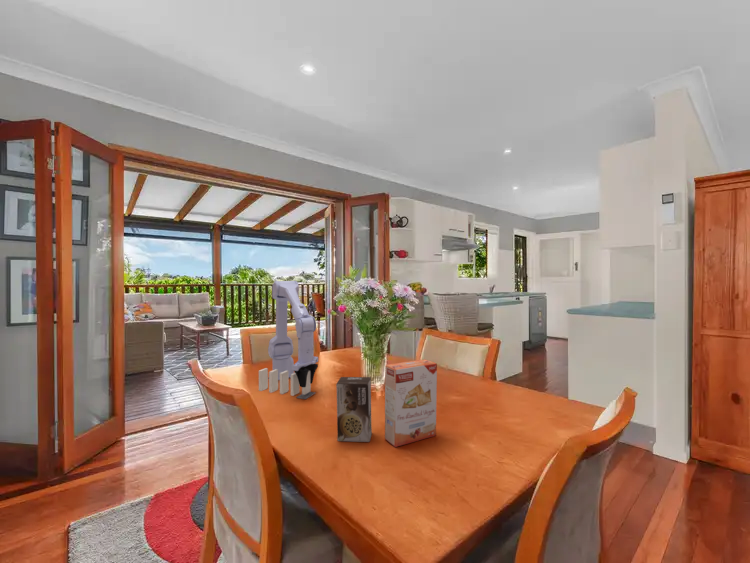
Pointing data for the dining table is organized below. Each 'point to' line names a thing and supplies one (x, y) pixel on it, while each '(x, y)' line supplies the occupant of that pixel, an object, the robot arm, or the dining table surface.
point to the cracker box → (410, 401)
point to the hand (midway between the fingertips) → (306, 385)
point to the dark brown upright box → (354, 409)
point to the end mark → (306, 395)
